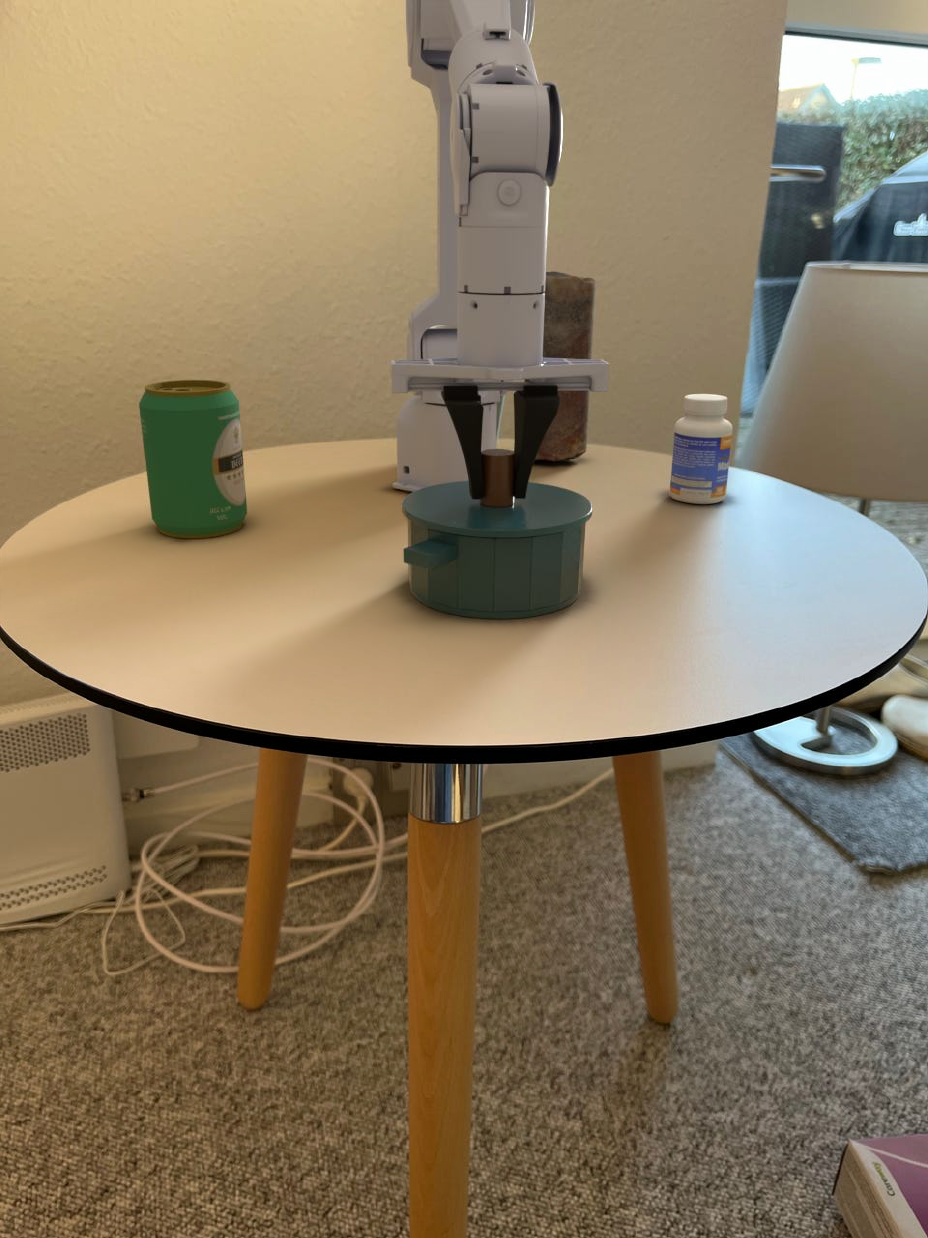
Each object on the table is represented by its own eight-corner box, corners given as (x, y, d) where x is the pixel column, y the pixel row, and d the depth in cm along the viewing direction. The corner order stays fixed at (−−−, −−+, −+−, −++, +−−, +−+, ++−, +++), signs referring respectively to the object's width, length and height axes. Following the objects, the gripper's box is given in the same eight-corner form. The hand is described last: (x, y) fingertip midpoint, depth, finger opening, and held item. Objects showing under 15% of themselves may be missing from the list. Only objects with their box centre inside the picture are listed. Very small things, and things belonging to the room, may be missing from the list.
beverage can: (223, 543, 81) (210, 395, 76) (135, 535, 82) (117, 390, 78) (262, 517, 88) (253, 380, 84) (181, 511, 90) (167, 377, 85)
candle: (550, 448, 116) (558, 269, 109) (600, 458, 111) (611, 271, 104) (507, 458, 111) (512, 270, 103) (557, 469, 106) (566, 273, 99)
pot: (348, 603, 68) (345, 524, 66) (494, 542, 82) (496, 475, 79) (494, 646, 61) (496, 560, 59) (628, 572, 75) (633, 500, 73)
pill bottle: (726, 506, 93) (737, 402, 89) (668, 503, 94) (677, 400, 90) (724, 492, 98) (734, 393, 94) (668, 489, 99) (677, 391, 95)
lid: (362, 522, 68) (360, 455, 66) (475, 484, 78) (476, 425, 77) (523, 560, 61) (526, 485, 59) (625, 513, 71) (630, 449, 69)
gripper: (391, 296, 60) (395, 512, 65) (625, 296, 61) (611, 508, 66) (388, 288, 66) (392, 486, 71) (600, 289, 67) (588, 483, 72)
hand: (496, 495), depth 69 cm, fingers closed on lid, 2 cm apart
